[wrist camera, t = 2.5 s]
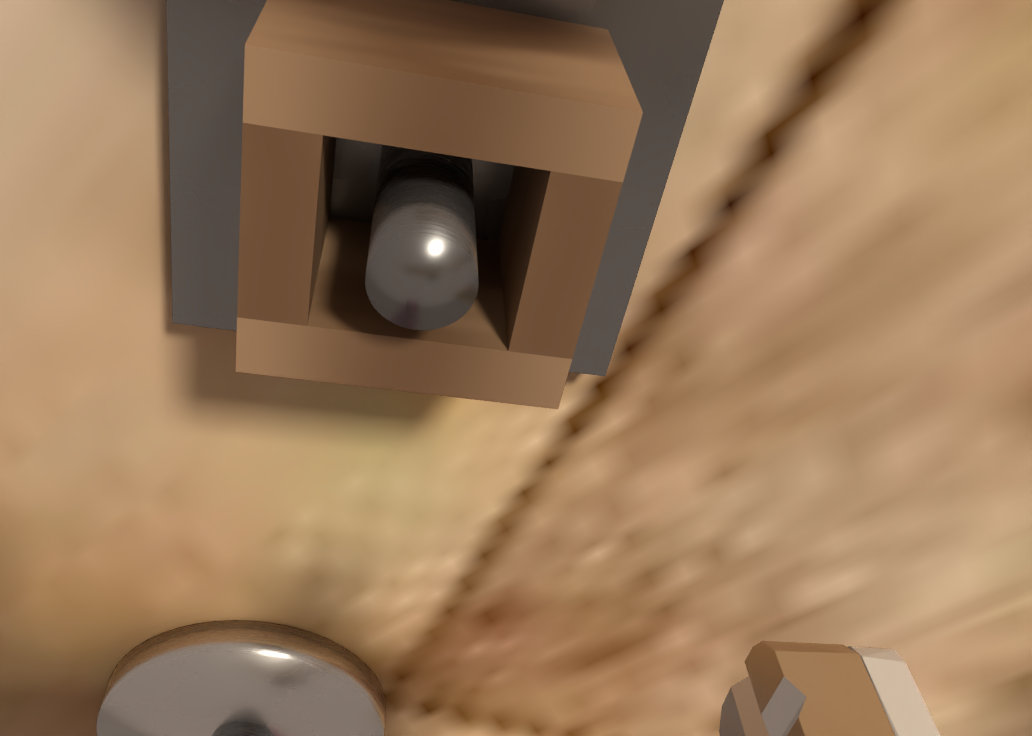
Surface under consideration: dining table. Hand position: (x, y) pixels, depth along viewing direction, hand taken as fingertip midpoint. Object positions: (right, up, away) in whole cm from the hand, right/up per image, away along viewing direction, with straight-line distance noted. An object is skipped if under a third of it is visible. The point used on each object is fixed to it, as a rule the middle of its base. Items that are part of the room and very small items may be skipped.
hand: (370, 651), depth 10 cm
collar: (0, +7, +9) cm, 12 cm away
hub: (-7, -8, +22) cm, 25 cm away
